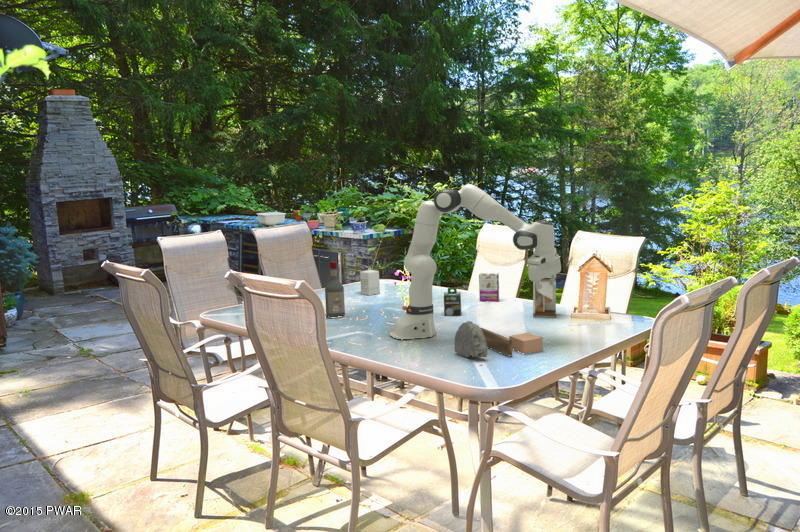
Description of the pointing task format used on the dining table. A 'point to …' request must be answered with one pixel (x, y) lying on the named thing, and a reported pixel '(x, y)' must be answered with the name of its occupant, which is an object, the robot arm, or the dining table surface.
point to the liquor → (334, 294)
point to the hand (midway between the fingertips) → (545, 286)
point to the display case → (544, 298)
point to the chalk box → (452, 303)
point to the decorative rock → (470, 341)
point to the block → (527, 342)
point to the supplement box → (370, 282)
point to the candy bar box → (489, 286)
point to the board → (498, 342)
